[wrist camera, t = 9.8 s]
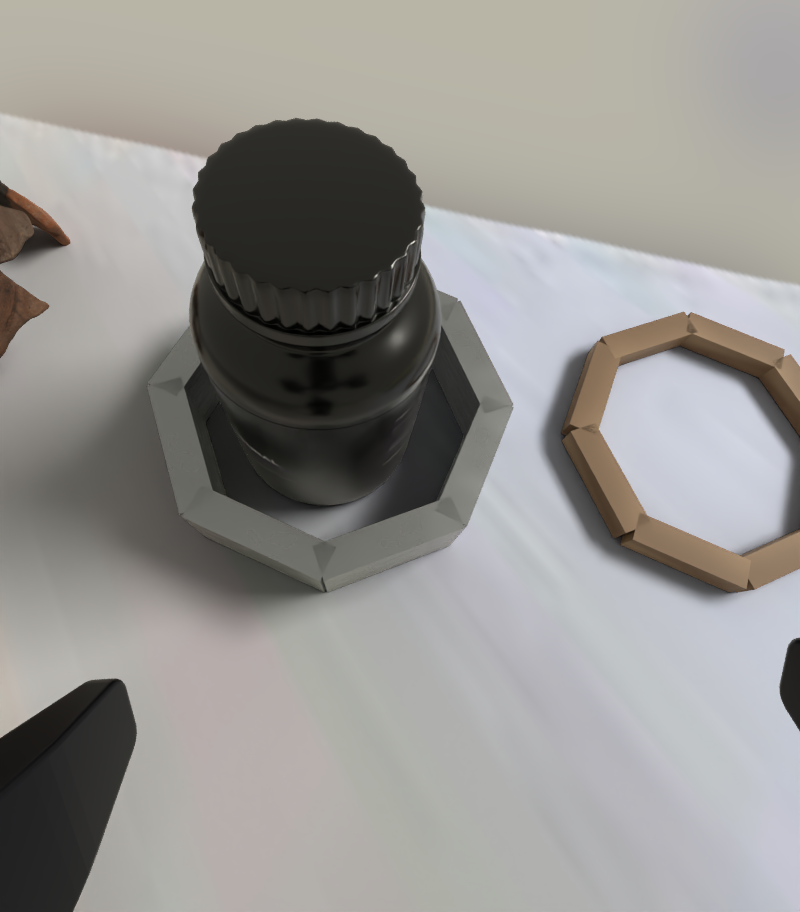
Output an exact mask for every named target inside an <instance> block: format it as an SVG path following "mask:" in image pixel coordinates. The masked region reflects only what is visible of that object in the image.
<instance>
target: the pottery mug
mask: <svg viewBox="0 0 800 912" xmlns="http://www.w3.org/2000/svg"><path fill="white" fill-rule="evenodd" d="M32 225H34V226H36V227H38V228H40V229H42V230H43V231H45V232H47V233H48V234H49V235H51V236H52V237H53V238H55V239H56V240H57V241H58V242H59V243H60V244H62V245H64V246H66V245H68V244H70V240H69V238H68V237H67V236H66V235H65V234H64V232H63V231H62V229H61V228H60V227H59V225H58V224H57V223H56V222H55V221H54V220H53V219H52V218H51V217H50V216H49V215H48V214H47V213H46V212H45V211H44V210H43V209H41V208H40V207H38V206H37V205H35V204H34V203H33V202H31V201H30V200H28V199H27V198H25V197H23V196H21V195H20V194H18V193H17V192H15V191H13V190H11V189H9V188H8V187H7V186H6V185H5V184H3V183H1V181H0V264H1V263H3V262H7V261H10V260H13V259H14V258H16V257H17V255H18V254H19V252H20V251H21V249H22V247H23V245H24V243H25V241H26V240H28V239H29V238H30V237H32V236H33V234H34V228H33V226H32ZM48 308H49V305H48V304H47V303H46V302H43V301H40V300H39V299H37V298H36V297H35V296H33V295H32V294H30V293H29V292H28V291H27V290H25V289H24V288H22V287H21V286H19V285H17V284H16V283H15V282H13V281H12V280H11V279H10V278H8V277H7V276H6V275H4V274H3V273H2V272H1V271H0V358H1V357H2V355H3V354H4V353H5V351H6V349H7V347H8V345H9V343H10V341H11V340H12V339H13V337H14V336H15V334H16V332H17V331H18V330H19V329H20V328H21V327H22V326H23V325H24V324H25V323H26V322H27V321H28V320H30V319H32V318H34V317H37V316H38V315H40V314H42V313H43V312H44V311H45V310H46V309H48Z"/></svg>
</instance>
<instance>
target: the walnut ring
mask: <svg viewBox="0 0 800 912" xmlns="http://www.w3.org/2000/svg"><path fill="white" fill-rule="evenodd" d="M678 346H682V347H684V348H686V349H689V350H691V351H694V352H696V353H699V354H701V355H704V356H706V357H709V358H711V359H714V360H716V361H718V362H721V363H723V364H726V365H728V366H731V367H733V368H736V369H738V370H741V371H743V372H746V373H748V374H751V375H753V376H755V377H758V378H759V379H760V380H761V382H762V383H763V385H764V386H765V387H766V389H767V390H768V392H769V393H770V395H771V396H772V397H773V399H774V400H775V402H776V403H777V405H778V406H779V407H780V409H781V410H782V412H783V413H784V415H785V416H786V417H787V419H788V420H789V422H790V423H791V425H792V426H793V427H794V429H795V430H796V432H797V433H798V435H799V436H800V366H799V365H798V364H797V362H796V361H795V360H794V358H793V357H792V355H791V354H790V355H788V356H785V357H783V356H784V349H782V348H779V347H777V346H774V345H772V344H769V343H767V342H764V341H762V340H759V339H757V338H754V337H752V336H749V335H747V334H744V333H742V332H739V331H737V330H734V329H732V328H729V327H727V326H724V325H722V324H719V323H717V322H714V321H712V320H709V319H707V318H704V317H702V316H699V315H697V314H694V313H692V312H691V313H690V314H689V315H688V316H687V315H686V314H685V312H681V313H678V314H675V315H672V316H668V317H665V318H662V319H659V320H656V321H652V322H649V323H646V324H643V325H639V326H636V327H633V328H630V329H626V330H623V331H620V332H617V333H614V334H610V335H607V336H604V337H602V338H601V339H600V341H597V343H596V344H595V345H594V347H593V348H592V349H591V350H590V352H589V353H588V356H587V359H586V362H585V364H584V367H583V370H582V373H581V376H580V379H579V382H578V385H577V388H576V391H575V394H574V397H573V399H572V402H571V405H570V408H569V411H568V414H567V417H566V420H565V423H564V426H563V429H562V432H561V434H563V435H565V436H566V437H565V438H564V439H563V440H562V442H563V444H564V446H565V448H566V450H567V452H568V454H569V456H570V457H571V459H572V461H573V463H574V465H575V467H576V469H577V471H578V472H579V474H580V476H581V478H582V480H583V482H584V484H585V486H586V488H587V489H588V491H589V493H590V495H591V497H592V499H593V501H594V503H595V504H596V506H597V508H598V510H599V512H600V514H601V516H602V518H603V519H604V521H605V523H606V525H607V527H608V529H609V531H610V533H611V534H612V536H613V538H617V537H619V536H621V535H623V536H622V540H621V544H620V545H622V546H624V547H626V548H629V549H631V550H633V551H635V552H638V553H640V554H642V555H645V556H647V557H649V558H651V559H654V560H656V561H658V562H661V563H663V564H665V565H667V566H670V567H672V568H674V569H677V570H679V571H681V572H683V573H686V574H688V575H690V576H693V577H695V578H697V579H699V580H702V581H704V582H706V583H708V584H711V585H713V586H715V587H718V588H720V589H722V590H724V591H727V592H734V591H736V592H743V591H749V590H754V589H757V588H759V587H761V586H763V585H765V584H768V583H770V582H772V581H774V580H776V579H778V578H780V577H783V576H785V575H787V574H789V573H791V572H793V571H795V570H798V569H800V529H798V530H796V531H794V532H791V533H789V534H787V535H785V536H782V537H780V538H778V539H776V540H774V541H771V542H769V543H767V544H765V545H762V546H760V547H758V548H756V549H753V550H751V551H749V552H747V553H744V554H742V555H740V556H739V555H737V554H735V553H733V552H730V551H728V550H726V549H723V548H721V547H719V546H716V545H714V544H712V543H709V542H707V541H705V540H702V539H700V538H698V537H696V536H693V535H691V534H689V533H686V532H684V531H682V530H679V529H677V528H675V527H672V526H670V525H668V524H666V523H663V522H661V521H659V520H656V519H654V518H652V517H649V516H647V514H646V513H645V511H644V509H643V507H642V505H641V504H640V502H639V500H638V498H637V497H636V495H635V493H634V491H633V489H632V488H631V486H630V484H629V482H628V481H627V479H626V477H625V475H624V473H623V472H622V470H621V468H620V466H619V465H618V463H617V461H616V459H615V457H614V456H613V454H612V452H611V450H610V449H609V447H608V445H607V443H606V441H605V440H604V438H603V436H602V434H601V433H600V431H599V426H600V423H601V420H602V417H603V413H604V410H605V407H606V404H607V400H608V397H609V394H610V391H611V388H612V384H613V381H614V378H615V375H616V371H617V368H618V366H619V365H622V364H625V363H629V362H632V361H635V360H638V359H641V358H644V357H647V356H650V355H653V354H656V353H659V352H662V351H665V350H668V349H672V348H675V347H678Z"/></svg>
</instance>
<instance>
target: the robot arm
mask: <svg viewBox="0 0 800 912" xmlns="http://www.w3.org/2000/svg"><path fill="white" fill-rule="evenodd" d="M780 696H781V699H782V702H783V704H784V706H785V708H786V710H787V712H788V713H789V715H790V716H791V718H792V720H793V721H794V723H795V724H796V726H797V727H798V729H799V731H800V638H796V639H793V640H792V641H791V642H790V644H789V645H788V648H787V653H786V658H785V662H784V667H783V672H782V677H781V681H780ZM136 734H137V729H136V723H135V719H134V715H133V711H132V708H131V704H130V700H129V697H128V693H127V689H126V686H125V684H124V683H123V682H122V681H121V680H119V679H99V680H91V681H87V682H85V683H84V684H82V685H81V686H79V687H78V688H76V689H74V690H73V691H71V692H70V693H68V694H67V695H65V696H64V697H62V698H61V699H59V700H58V701H56V702H55V703H53V704H52V705H50V706H49V707H47V708H45V709H44V710H42V711H41V712H39V713H38V714H36V715H35V716H33V717H32V718H30V719H29V720H27V721H26V722H24V723H23V724H21V725H20V726H18V727H16V728H15V729H13V730H12V731H10V732H9V733H7V734H6V735H4V736H3V737H1V738H0V912H73V910H74V908H75V906H76V904H77V901H78V899H79V897H80V894H81V892H82V890H83V887H84V885H85V883H86V880H87V878H88V876H89V873H90V871H91V868H92V865H93V863H94V860H95V857H96V855H97V852H98V849H99V846H100V843H101V841H102V838H103V835H104V832H105V829H106V826H107V823H108V821H109V818H110V815H111V812H112V809H113V806H114V803H115V801H116V798H117V795H118V792H119V789H120V786H121V783H122V781H123V778H124V775H125V772H126V769H127V766H128V763H129V760H130V758H131V755H132V752H133V749H134V746H135V742H136Z"/></svg>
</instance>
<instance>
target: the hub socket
mask: <svg viewBox="0 0 800 912" xmlns="http://www.w3.org/2000/svg"><path fill="white" fill-rule="evenodd" d="M437 292H438V295H439V300H440V306H441V316H442V319H441V333H440V339H439V344H438V348H437V352H436V356H435V359H434V363H433V366H432V369H433V371H434V373H435V375H436V377H437V379H438V382H439V384H440V386H441V388H442V390H443V392H444V394H445V397H446V399H447V401H448V403H449V405H450V407H451V409H452V412H453V414H454V416H455V418H456V420H457V422H458V425H459V427H460V429H461V431H462V433H463V435H464V437H463V439H462V442H461V444H460V446H459V449H458V451H457V454H456V456H455V458H454V461H453V463H452V465H451V468H450V470H449V472H448V475H447V477H446V479H445V482H444V484H443V486H442V489H441V491H440V493H439V496H438V498H437V500H436V502H433V503H430V504H428V505H425V506H422V507H419V508H416V509H414V510H411V511H408V512H405V513H403V514H400V515H397V516H394V517H391V518H389V519H386V520H383V521H380V522H378V523H375V524H372V525H369V526H366V527H364V528H361V529H358V530H355V531H353V532H350V533H347V534H344V535H341V536H339V537H336V538H333V539H330V540H328V541H322V540H320V539H318V538H316V537H314V536H311V535H309V534H307V533H305V532H303V531H300V530H298V529H296V528H294V527H292V526H290V525H287V524H285V523H283V522H281V521H279V520H276V519H274V518H272V517H270V516H268V515H266V514H263V513H261V512H259V511H257V510H255V509H252V508H250V507H248V506H246V505H244V504H241V503H239V502H237V501H235V500H233V499H231V498H228V497H227V495H226V492H225V488H224V485H223V481H222V478H221V474H220V471H219V467H218V464H217V460H216V457H215V453H214V450H213V447H212V443H211V440H210V436H209V433H208V429H207V426H206V421H207V419H208V418H209V416H210V415H211V413H212V412H213V410H214V409H215V407H216V406H217V404H218V403H219V399H218V397H217V395H216V393H215V391H214V389H213V387H212V385H211V382H210V380H209V378H208V376H207V374H206V372H205V370H204V368H203V366H202V364H201V361H200V359H199V356H198V354H197V351H196V349H195V346H194V343H193V339H192V335H191V330H190V326H189V327H188V329H187V330H186V331H185V333H184V334H183V335H182V337H181V338H180V340H179V341H178V342H177V344H176V345H175V346H174V348H173V349H172V350H171V352H170V353H169V355H168V356H167V357H166V359H165V360H164V361H163V363H162V364H161V365H160V367H159V368H158V369H157V371H156V372H155V374H154V375H153V376H152V378H151V379H150V380H149V382H148V384H149V386H147V389H148V393H149V397H150V401H151V405H152V409H153V413H154V417H155V421H156V425H157V428H158V432H159V436H160V440H161V444H162V448H163V452H164V456H165V460H166V464H167V468H168V472H169V476H170V480H171V484H172V488H173V492H174V496H175V500H176V504H177V508H178V512H179V514H180V515H181V516H182V518H183V519H185V520H186V521H187V522H188V523H189V524H191V525H192V526H193V527H194V528H195V529H197V530H198V531H199V532H200V533H201V534H202V535H204V536H205V537H206V538H209V539H211V540H213V541H215V542H217V543H219V544H221V545H224V546H226V547H228V548H230V549H232V550H234V551H237V552H239V553H241V554H243V555H245V556H247V557H249V558H252V559H254V560H256V561H258V562H260V563H262V564H264V565H267V566H269V567H271V568H273V569H275V570H277V571H279V572H282V573H284V574H286V575H288V576H290V577H292V578H295V579H297V580H299V581H301V582H303V583H305V584H307V585H310V586H312V587H314V588H316V589H318V590H320V591H322V592H325V590H326V589H327V592H330V591H333V590H335V589H338V588H340V587H343V586H346V585H348V584H351V583H354V582H356V581H359V580H361V579H364V578H367V577H369V576H372V575H374V574H377V573H380V572H382V571H385V570H387V569H390V568H393V567H395V566H398V565H401V564H403V563H406V562H408V561H411V560H414V559H416V558H419V557H421V556H424V555H427V554H429V553H432V552H435V551H437V550H440V549H442V548H445V547H448V546H449V545H450V544H451V543H452V542H453V541H454V540H455V539H456V538H457V537H458V535H459V534H460V533H461V532H462V531H463V530H464V529H465V527H466V526H467V525H468V522H469V520H470V517H471V515H472V512H473V509H474V507H475V504H476V502H477V499H478V497H479V494H480V492H481V489H482V487H483V484H484V481H485V479H486V476H487V474H488V471H489V469H490V466H491V464H492V461H493V459H494V456H495V453H496V451H497V448H498V446H499V443H500V441H501V438H502V436H503V433H504V431H505V428H506V425H507V423H508V420H509V418H510V415H511V413H512V410H513V408H514V407H512V406H513V403H512V401H511V399H510V397H509V395H508V393H507V391H506V389H505V387H504V385H503V383H502V381H501V379H500V377H499V375H498V373H497V372H496V370H495V368H494V366H493V364H492V362H491V360H490V358H489V356H488V354H487V352H486V350H485V348H484V346H483V344H482V342H481V340H480V338H479V336H478V334H477V332H476V330H475V329H474V327H473V325H472V323H471V321H470V319H469V317H468V315H467V313H466V311H465V309H464V307H463V305H462V303H461V301H458V299H457V298H455V297H453V296H450V295H448V294H445V293H443V292H440V291H438V290H437Z"/></svg>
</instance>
